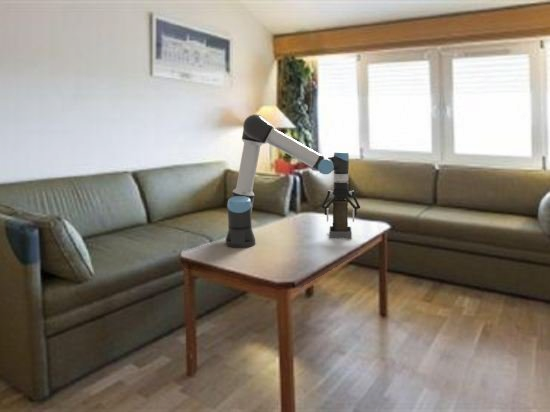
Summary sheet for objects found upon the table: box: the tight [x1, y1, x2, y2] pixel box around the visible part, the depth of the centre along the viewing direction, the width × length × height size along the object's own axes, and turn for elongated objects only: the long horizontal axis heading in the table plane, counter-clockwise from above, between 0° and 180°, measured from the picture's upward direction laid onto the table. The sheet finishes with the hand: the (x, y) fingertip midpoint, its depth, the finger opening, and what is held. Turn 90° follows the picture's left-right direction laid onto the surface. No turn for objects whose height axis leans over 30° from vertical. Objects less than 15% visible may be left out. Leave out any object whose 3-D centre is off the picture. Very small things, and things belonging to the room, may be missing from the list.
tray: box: [328, 225, 353, 239], centre depth 247 cm, size 12×12×4 cm
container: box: [332, 198, 349, 232], centre depth 245 cm, size 9×9×18 cm
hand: (340, 221), depth 245 cm, fingers open, 13 cm apart
